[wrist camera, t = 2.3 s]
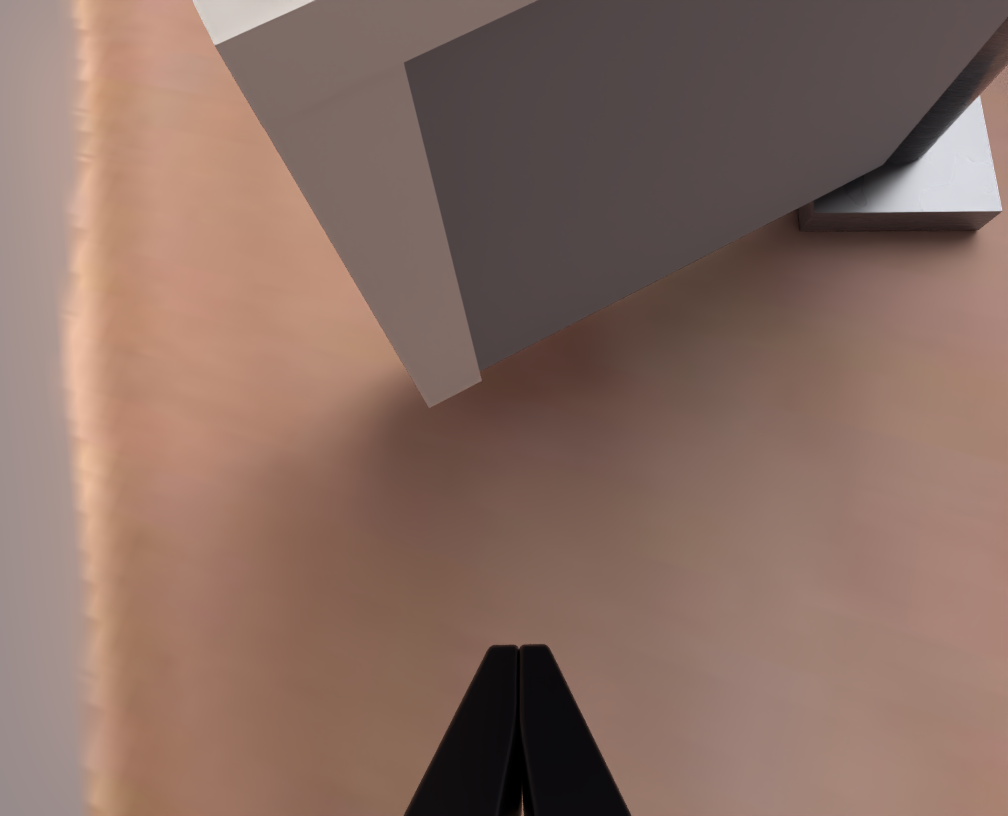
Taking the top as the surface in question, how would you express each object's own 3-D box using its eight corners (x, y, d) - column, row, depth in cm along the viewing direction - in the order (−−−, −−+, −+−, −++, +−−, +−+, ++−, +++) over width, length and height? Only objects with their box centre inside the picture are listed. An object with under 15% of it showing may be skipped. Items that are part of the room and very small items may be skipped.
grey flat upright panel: (839, 109, 22) (1339, -655, 8) (890, 174, 22) (1521, -543, 8) (391, 334, 21) (119, -146, 7) (430, 410, 20) (214, 46, 6)
